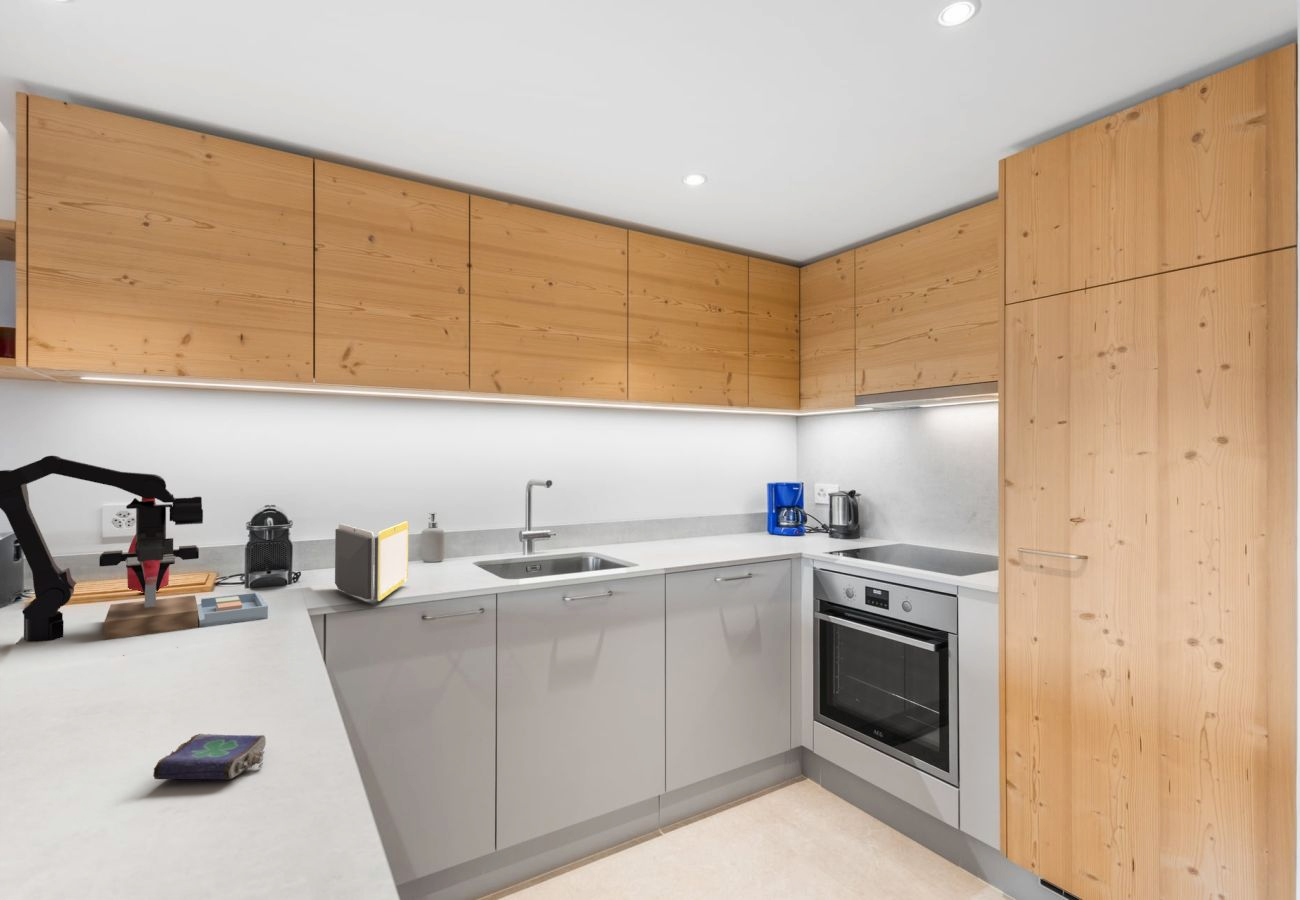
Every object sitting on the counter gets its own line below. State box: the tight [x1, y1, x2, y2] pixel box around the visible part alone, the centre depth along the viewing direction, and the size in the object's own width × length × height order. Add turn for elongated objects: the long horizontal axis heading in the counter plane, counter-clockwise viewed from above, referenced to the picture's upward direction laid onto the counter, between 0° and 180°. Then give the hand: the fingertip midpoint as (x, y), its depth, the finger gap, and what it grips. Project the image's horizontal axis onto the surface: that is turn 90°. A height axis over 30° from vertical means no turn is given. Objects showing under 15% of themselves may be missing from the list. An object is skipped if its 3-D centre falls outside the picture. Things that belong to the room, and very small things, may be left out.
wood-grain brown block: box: [103, 595, 199, 641], centre depth 156 cm, size 17×20×4 cm
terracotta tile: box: [217, 601, 242, 611], centre depth 162 cm, size 5×5×2 cm
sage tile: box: [215, 596, 240, 612], centre depth 168 cm, size 5×5×2 cm
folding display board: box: [334, 520, 409, 602], centre depth 196 cm, size 35×22×20 cm, turn 44°
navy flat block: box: [152, 733, 267, 780], centre depth 84 cm, size 9×3×11 cm
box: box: [197, 591, 269, 628], centre depth 165 cm, size 14×20×3 cm
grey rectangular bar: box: [144, 577, 157, 607], centre depth 156 cm, size 2×14×5 cm, turn 37°
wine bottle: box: [126, 497, 170, 595], centre depth 192 cm, size 10×10×30 cm
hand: (150, 591), depth 156 cm, fingers closed on grey rectangular bar, 2 cm apart
